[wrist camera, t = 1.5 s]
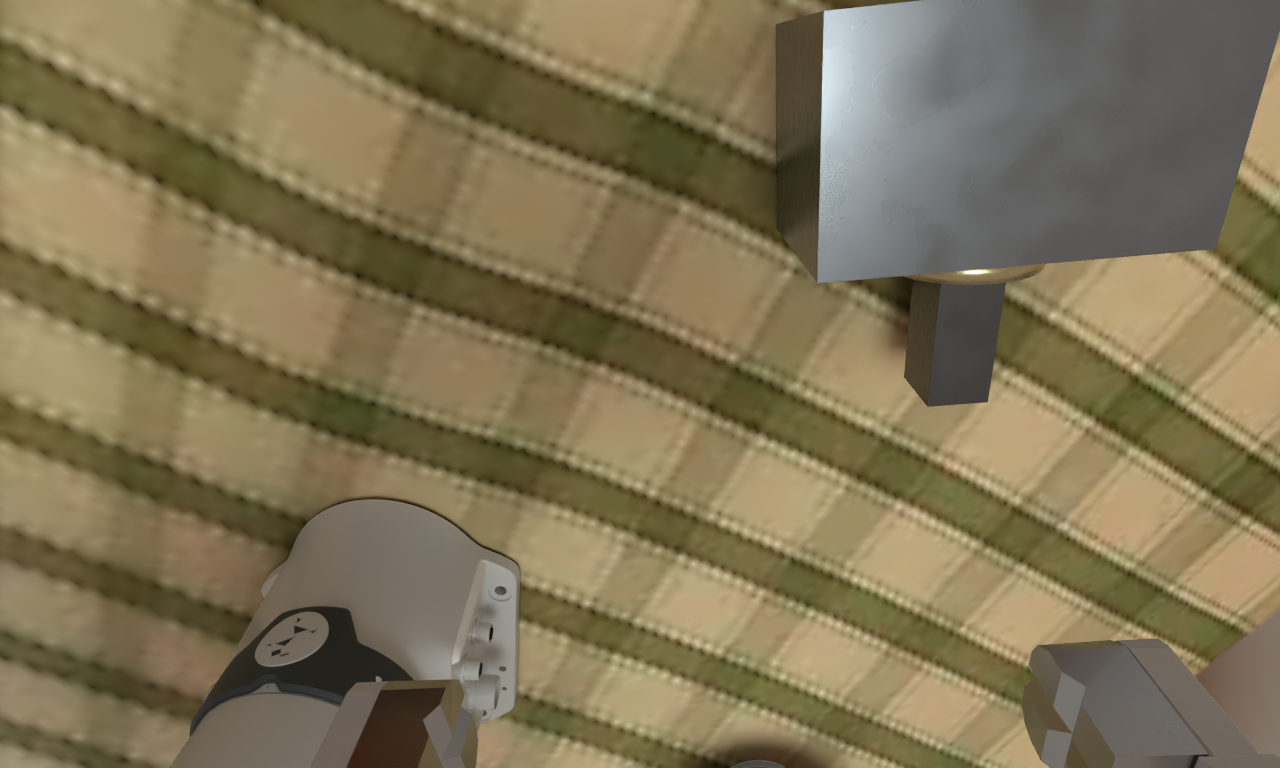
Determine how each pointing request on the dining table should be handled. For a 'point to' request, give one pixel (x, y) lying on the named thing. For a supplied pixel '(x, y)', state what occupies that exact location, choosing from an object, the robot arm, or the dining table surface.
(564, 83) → the dining table surface
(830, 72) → the housing
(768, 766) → the chinaware
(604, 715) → the dining table surface
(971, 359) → the brass flanged shaft
